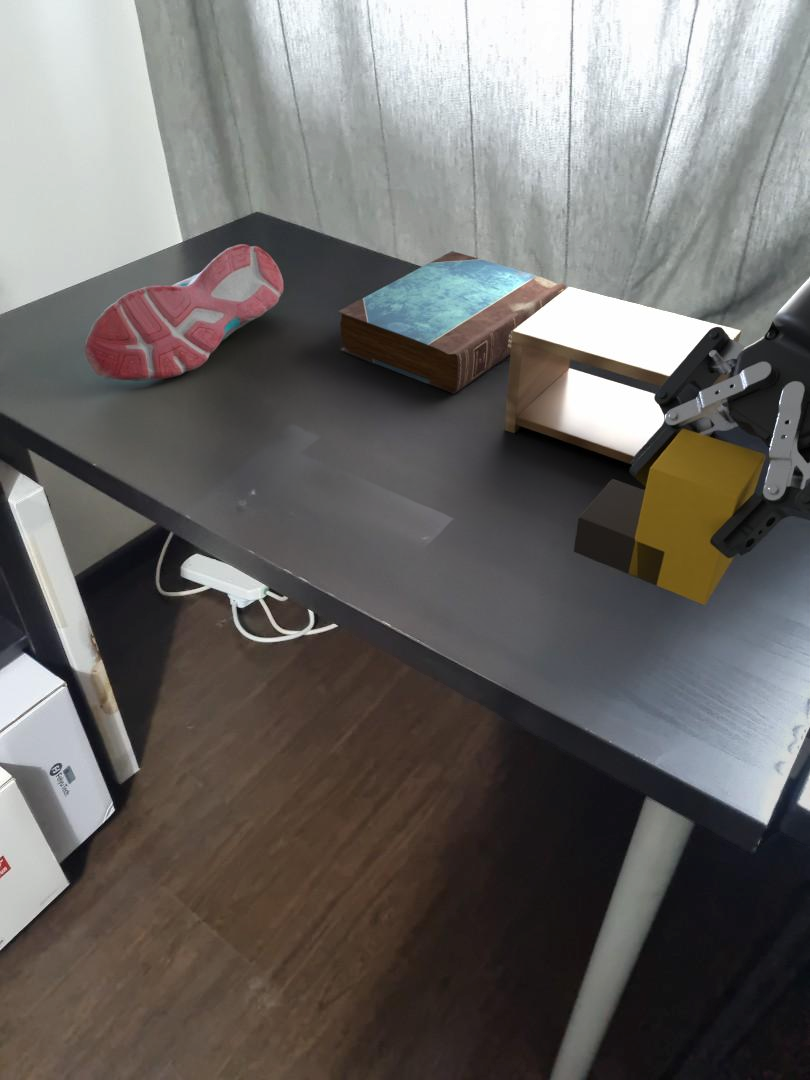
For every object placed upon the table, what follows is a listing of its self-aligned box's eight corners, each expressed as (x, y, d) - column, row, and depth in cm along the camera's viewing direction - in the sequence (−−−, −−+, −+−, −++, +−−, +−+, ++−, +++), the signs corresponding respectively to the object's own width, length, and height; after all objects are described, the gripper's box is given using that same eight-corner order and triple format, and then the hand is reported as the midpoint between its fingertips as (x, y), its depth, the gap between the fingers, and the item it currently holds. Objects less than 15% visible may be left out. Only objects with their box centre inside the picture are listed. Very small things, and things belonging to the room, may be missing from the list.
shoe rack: (714, 430, 85) (741, 330, 78) (670, 488, 78) (696, 384, 71) (557, 381, 93) (568, 286, 86) (504, 430, 86) (512, 330, 78)
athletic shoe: (266, 306, 111) (203, 232, 107) (300, 281, 104) (233, 201, 99) (132, 434, 99) (55, 356, 94) (159, 417, 91) (76, 331, 87)
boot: (732, 560, 55) (766, 454, 49) (704, 605, 52) (737, 497, 46) (605, 512, 59) (624, 409, 53) (572, 551, 56) (588, 446, 50)
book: (457, 395, 91) (458, 354, 88) (338, 349, 99) (335, 311, 96) (562, 321, 105) (566, 283, 101) (449, 286, 113) (450, 250, 110)
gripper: (767, 217, 49) (579, 430, 53) (986, 310, 39) (734, 565, 43) (808, 286, 54) (633, 476, 58) (1011, 384, 44) (784, 606, 48)
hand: (677, 513), depth 51 cm, fingers closed on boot, 7 cm apart
